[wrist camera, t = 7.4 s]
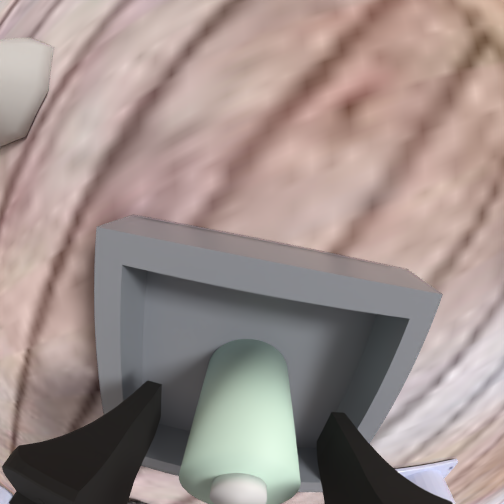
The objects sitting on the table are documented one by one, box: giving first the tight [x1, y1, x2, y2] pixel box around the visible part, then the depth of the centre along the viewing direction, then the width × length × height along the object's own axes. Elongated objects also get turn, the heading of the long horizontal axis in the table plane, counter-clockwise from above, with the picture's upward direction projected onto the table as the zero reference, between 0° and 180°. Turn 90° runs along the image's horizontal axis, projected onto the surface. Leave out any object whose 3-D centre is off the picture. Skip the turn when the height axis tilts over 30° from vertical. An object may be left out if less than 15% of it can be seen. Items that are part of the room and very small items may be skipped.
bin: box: [94, 215, 443, 492], centre depth 13 cm, size 13×13×4 cm
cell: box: [179, 339, 301, 504], centre depth 11 cm, size 4×4×8 cm
